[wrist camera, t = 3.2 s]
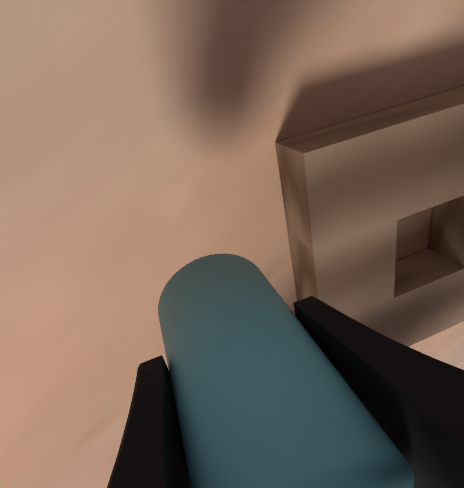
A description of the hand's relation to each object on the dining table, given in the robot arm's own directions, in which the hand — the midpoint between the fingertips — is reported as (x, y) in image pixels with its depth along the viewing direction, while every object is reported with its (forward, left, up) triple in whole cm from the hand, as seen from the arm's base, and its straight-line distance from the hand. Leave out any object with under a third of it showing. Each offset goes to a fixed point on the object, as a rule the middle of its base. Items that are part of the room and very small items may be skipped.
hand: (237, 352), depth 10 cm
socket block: (-5, -14, -9) cm, 18 cm away
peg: (0, 0, -2) cm, 2 cm away
